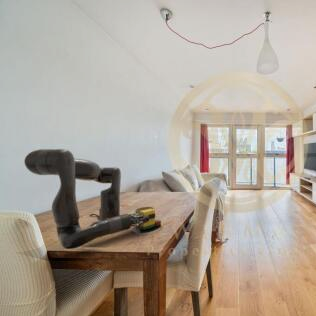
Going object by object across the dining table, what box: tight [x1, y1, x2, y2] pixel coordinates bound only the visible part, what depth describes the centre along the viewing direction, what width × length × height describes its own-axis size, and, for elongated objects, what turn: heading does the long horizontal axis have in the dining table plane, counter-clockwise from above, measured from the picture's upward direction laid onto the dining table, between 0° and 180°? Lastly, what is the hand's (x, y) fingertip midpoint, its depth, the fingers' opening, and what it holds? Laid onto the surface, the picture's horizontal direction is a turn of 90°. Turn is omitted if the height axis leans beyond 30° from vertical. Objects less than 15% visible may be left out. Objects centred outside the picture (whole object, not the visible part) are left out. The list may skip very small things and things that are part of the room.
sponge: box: [140, 209, 156, 229], centre depth 98 cm, size 4×6×9 cm
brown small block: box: [155, 219, 162, 226], centre depth 101 cm, size 3×3×2 cm
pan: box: [131, 223, 162, 234], centre depth 99 cm, size 21×14×2 cm
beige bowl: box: [135, 206, 155, 213], centre depth 112 cm, size 10×10×7 cm
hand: (152, 214), depth 100 cm, fingers closed on sponge, 4 cm apart
